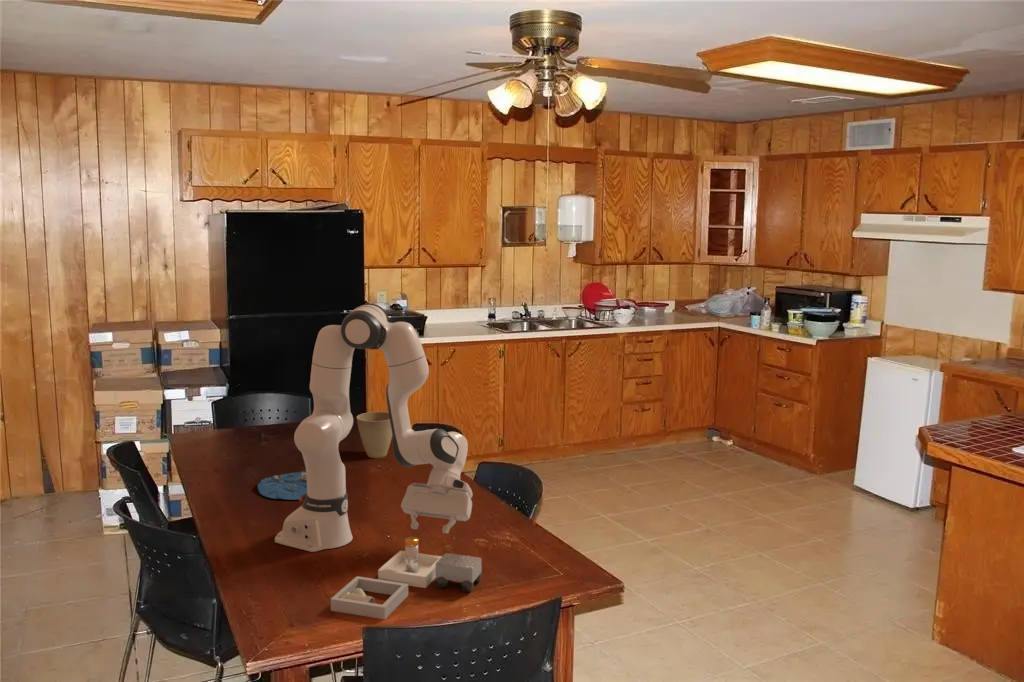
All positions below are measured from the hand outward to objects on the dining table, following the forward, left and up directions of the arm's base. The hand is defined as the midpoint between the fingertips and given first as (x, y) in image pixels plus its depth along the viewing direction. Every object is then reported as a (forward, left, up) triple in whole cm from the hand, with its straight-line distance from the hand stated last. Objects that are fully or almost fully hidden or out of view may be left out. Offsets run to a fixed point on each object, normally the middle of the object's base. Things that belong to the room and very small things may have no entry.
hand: (429, 530), depth 234 cm
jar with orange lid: (0, -12, -7) cm, 14 cm away
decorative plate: (-66, +42, -8) cm, 78 cm away
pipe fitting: (-5, -32, -8) cm, 34 cm away
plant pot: (-58, +84, -8) cm, 102 cm away
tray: (0, -12, -8) cm, 14 cm away
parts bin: (-3, -30, -8) cm, 32 cm away
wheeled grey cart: (+14, -11, -8) cm, 19 cm away
